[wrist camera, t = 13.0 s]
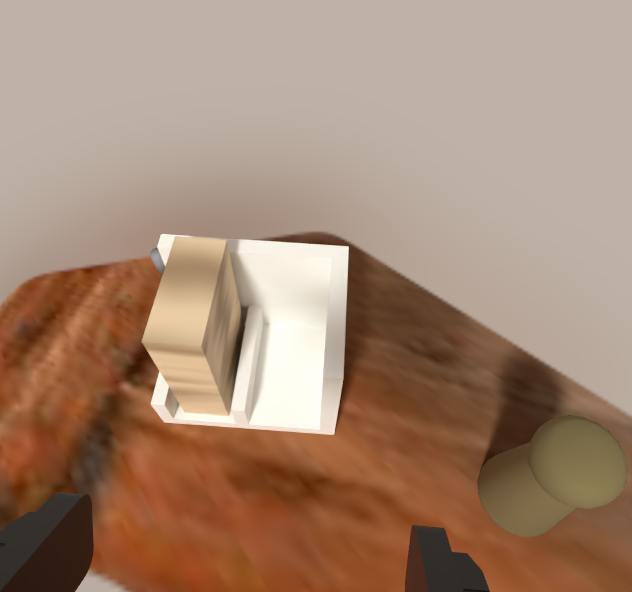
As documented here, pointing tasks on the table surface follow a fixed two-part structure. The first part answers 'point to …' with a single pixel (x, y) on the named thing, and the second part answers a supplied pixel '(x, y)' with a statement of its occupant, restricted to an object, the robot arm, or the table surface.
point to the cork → (552, 476)
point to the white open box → (279, 337)
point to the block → (197, 326)
